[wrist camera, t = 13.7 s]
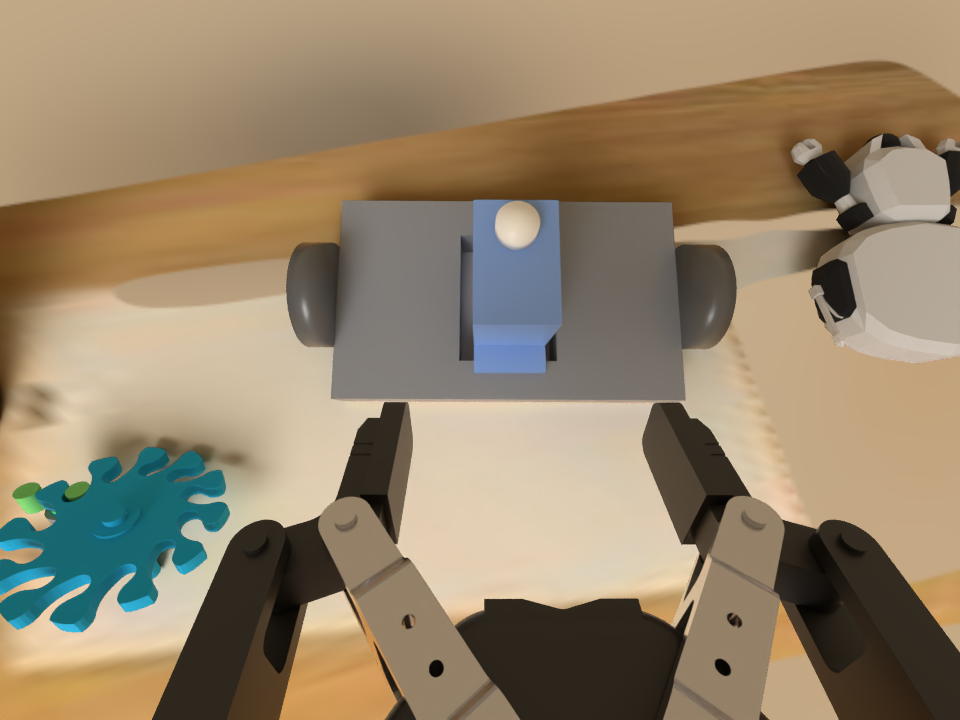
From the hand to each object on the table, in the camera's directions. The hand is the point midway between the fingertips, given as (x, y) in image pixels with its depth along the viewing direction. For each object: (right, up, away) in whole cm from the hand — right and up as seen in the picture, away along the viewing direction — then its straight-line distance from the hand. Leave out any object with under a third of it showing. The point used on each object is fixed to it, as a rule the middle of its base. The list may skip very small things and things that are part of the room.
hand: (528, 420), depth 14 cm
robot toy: (+24, +9, +15) cm, 30 cm away
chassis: (0, +5, +14) cm, 15 cm away
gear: (-21, -7, +12) cm, 25 cm away
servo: (0, +5, +13) cm, 14 cm away
